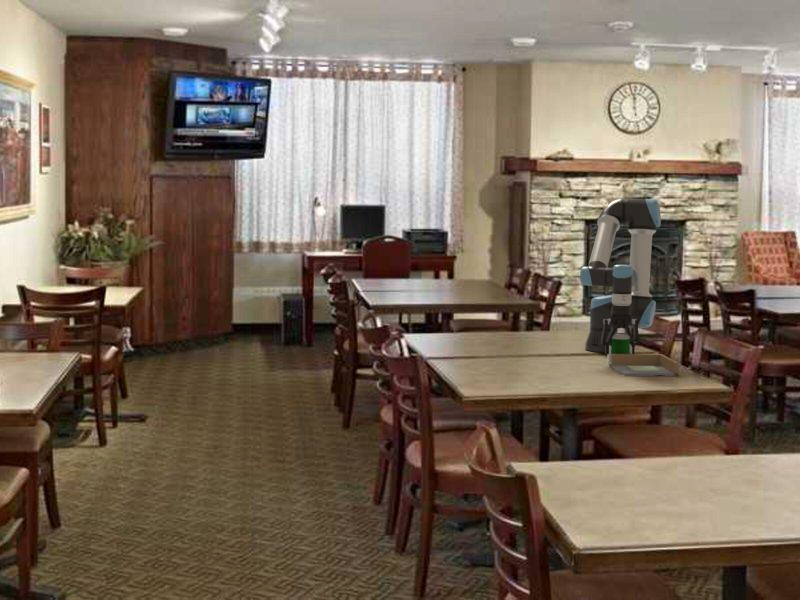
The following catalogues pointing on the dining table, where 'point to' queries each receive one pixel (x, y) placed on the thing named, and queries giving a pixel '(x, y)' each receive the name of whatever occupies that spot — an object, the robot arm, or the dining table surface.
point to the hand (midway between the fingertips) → (619, 362)
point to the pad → (643, 368)
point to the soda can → (620, 344)
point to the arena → (644, 364)
